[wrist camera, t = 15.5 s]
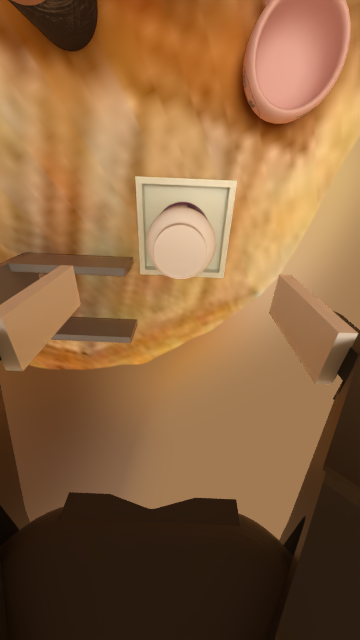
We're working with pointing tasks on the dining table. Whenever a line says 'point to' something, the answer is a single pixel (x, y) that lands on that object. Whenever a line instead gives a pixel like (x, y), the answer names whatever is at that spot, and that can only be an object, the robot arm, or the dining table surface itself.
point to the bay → (25, 267)
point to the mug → (295, 56)
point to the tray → (200, 192)
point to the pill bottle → (181, 241)
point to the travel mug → (62, 20)
